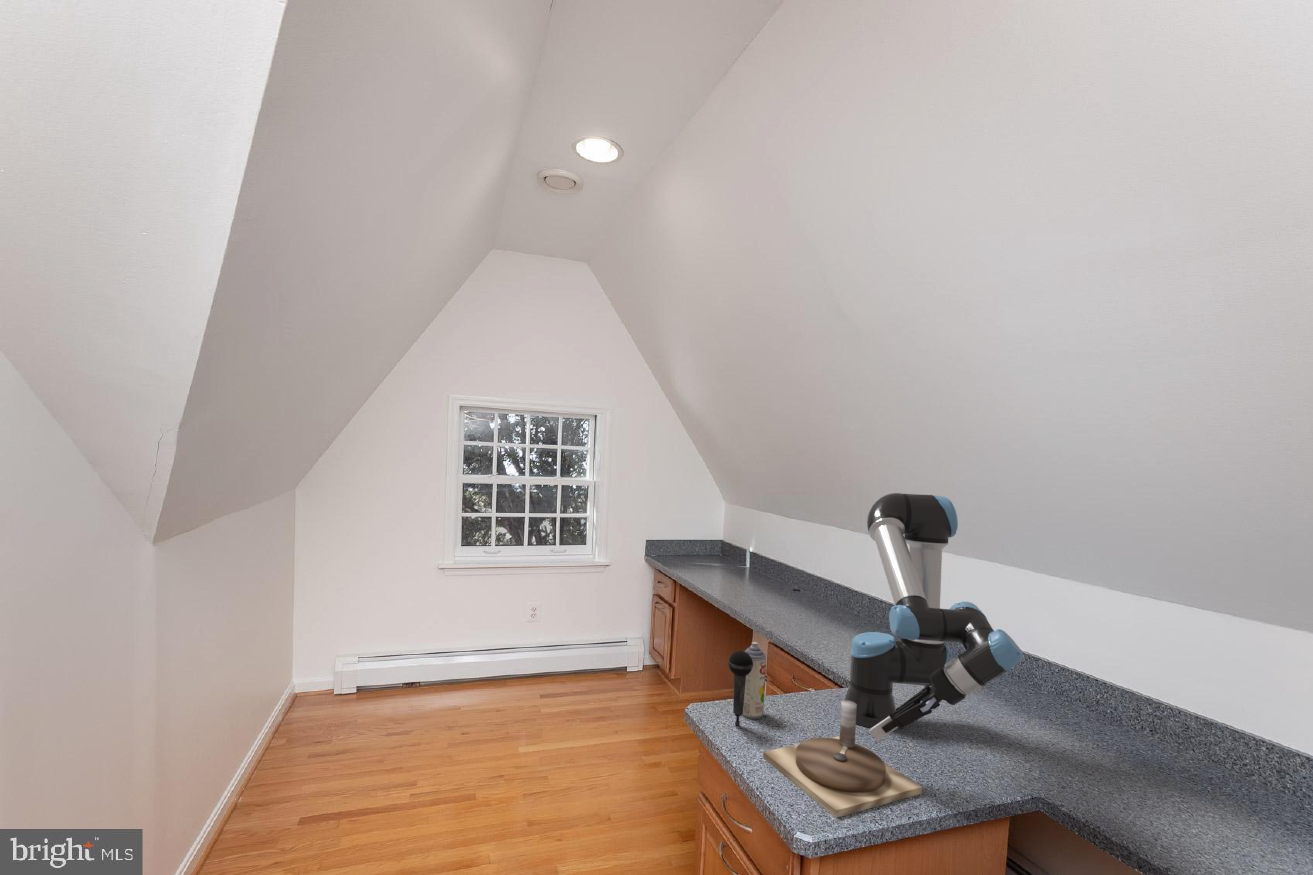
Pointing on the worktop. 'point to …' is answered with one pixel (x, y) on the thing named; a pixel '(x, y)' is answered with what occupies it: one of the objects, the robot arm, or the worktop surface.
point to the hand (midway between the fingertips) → (873, 735)
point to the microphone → (739, 679)
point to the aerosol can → (755, 684)
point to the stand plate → (839, 799)
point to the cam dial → (841, 758)
